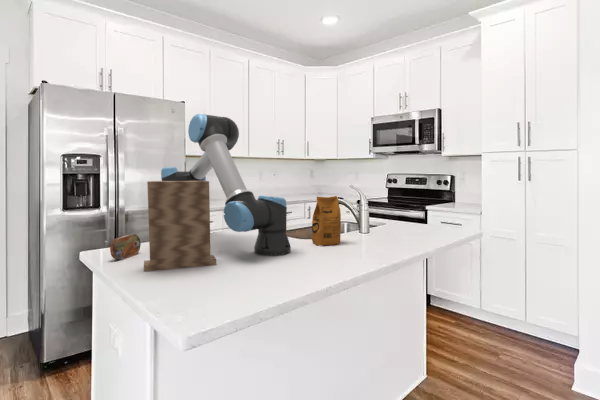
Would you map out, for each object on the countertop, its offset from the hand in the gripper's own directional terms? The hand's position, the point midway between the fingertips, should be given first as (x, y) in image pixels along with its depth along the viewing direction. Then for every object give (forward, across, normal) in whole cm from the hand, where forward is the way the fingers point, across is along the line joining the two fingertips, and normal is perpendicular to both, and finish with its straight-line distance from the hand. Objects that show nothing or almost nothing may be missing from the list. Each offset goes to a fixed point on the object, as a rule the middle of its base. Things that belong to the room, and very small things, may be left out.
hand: (177, 193), depth 147 cm
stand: (+16, +1, -27) cm, 31 cm away
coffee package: (+1, -65, -25) cm, 69 cm away
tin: (-5, +19, -24) cm, 31 cm away
